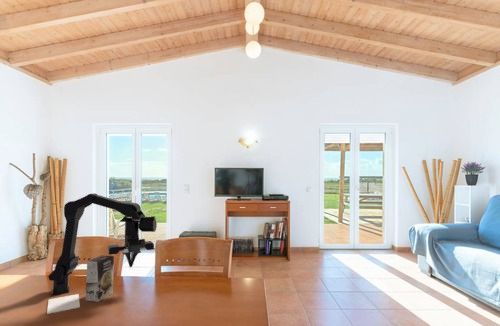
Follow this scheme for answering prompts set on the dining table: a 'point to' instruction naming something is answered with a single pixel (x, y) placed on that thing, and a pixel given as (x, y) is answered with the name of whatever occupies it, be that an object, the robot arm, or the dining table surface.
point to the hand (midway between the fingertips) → (130, 267)
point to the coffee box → (99, 278)
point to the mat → (63, 303)
